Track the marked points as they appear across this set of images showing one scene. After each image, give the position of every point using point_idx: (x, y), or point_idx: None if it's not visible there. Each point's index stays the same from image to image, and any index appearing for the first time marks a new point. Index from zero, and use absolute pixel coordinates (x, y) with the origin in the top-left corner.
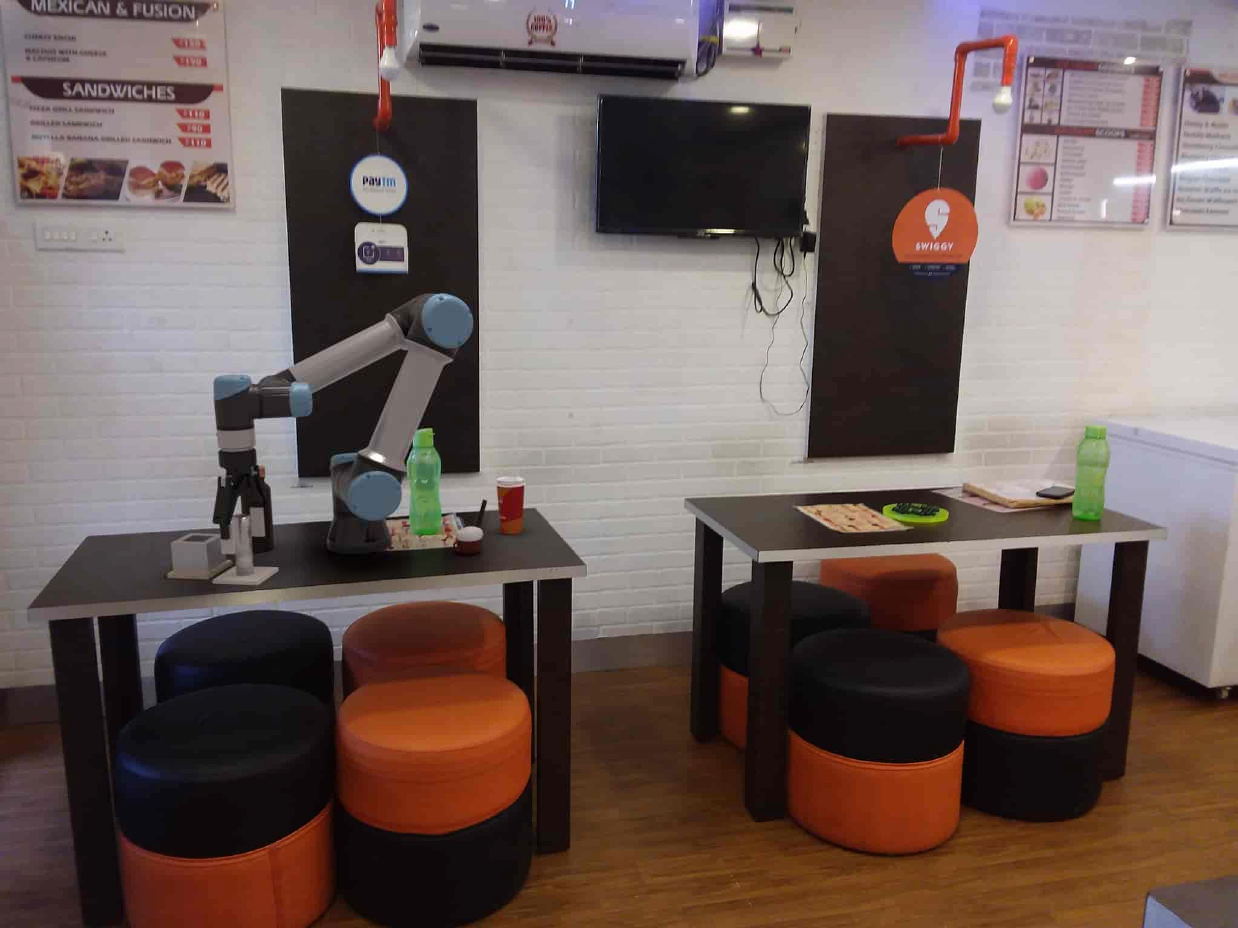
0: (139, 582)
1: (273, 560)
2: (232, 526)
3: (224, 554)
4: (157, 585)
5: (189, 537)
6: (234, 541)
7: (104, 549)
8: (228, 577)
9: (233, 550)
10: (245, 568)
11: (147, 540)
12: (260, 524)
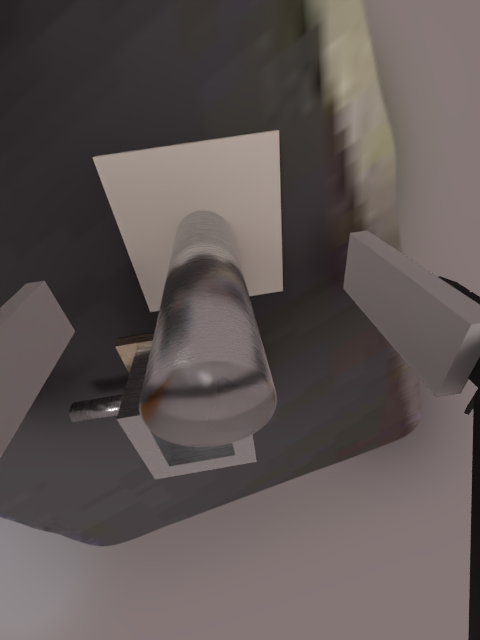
0: (291, 408)
1: (11, 254)
2: (473, 307)
3: (140, 364)
4: (306, 376)
5: (190, 461)
6: (387, 257)
7: (152, 519)
8: (254, 263)
9: (376, 238)
10: (228, 229)
11: (82, 515)
12: (16, 331)
